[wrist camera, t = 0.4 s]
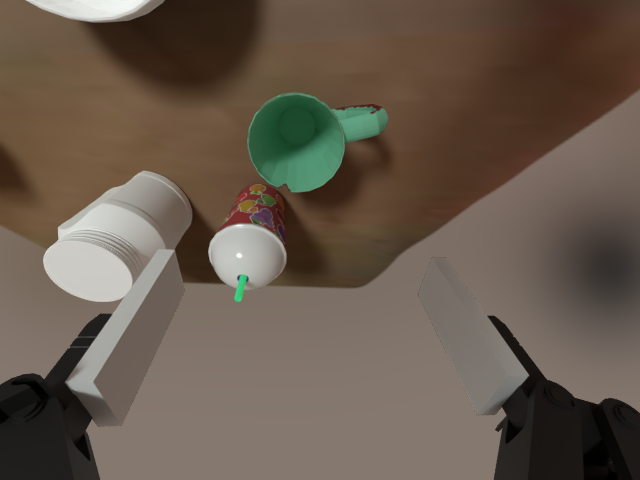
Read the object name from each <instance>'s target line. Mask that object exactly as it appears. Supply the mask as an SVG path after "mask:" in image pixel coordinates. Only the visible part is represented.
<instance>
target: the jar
mask: <svg viewBox="0 0 640 480" xmlns="http://www.w3.org/2000/svg"><path fill="white" fill-rule="evenodd" d="M191 222H192V208H191V205H190V202H189V200H188V198H187V197H186V195H185V194H184V192H183V191H182V190H181V189H180V188H179V187H178V186H177V185H176V184H175V183H173V182H172V181H170V180H169V179H167V178H165V177H163V176H161V175H159V174H156V173H153V172H149V171H142V172H140V173H138V174H137V175H136V176H134V177H133V179H131V180H130V181H129V182H127V183H126V184H125V185H122V186H119V187H114V188H112V189H110V190H108V191H107V192H105V193H104V194H103V195H102V196H101V197H100V198H98V199H97V200H95V201H94V202H93V203H91V204H90V205H89V206H87V207H86V208H85V209H83V210H82V211H81V212H79V213H78V214H76V215H75V216H74V217H72V218H71V219H70V220H68V221H66V222H64V223H63V224H62V225H60V226H59V227H58V238H59V240H58V241H57V242H56V243H55V244H53V245H52V246H51V247H50V248H49V249H48V250H47V251H46V253H45V255H44V259H43V263H44V268H45V270H46V272H47V274H48V275H49V277H50V278H51V279H52V280H53V281H54V282H55V283H56V284H57V285H58V286H59V287H60V288H62V289H64V290H65V291H67V292H68V293H70V294H72V295H75V296H77V297H80V298H83V299H87V300H90V301H97V302H110V301H115V300H119V299H121V298H123V297H125V296H126V295H127V293H128V292H129V290H130V289H131V287H132V286H133V285H134V283H135V282H136V280H137V279H138V278H139V276H140V275H141V273H142V272H143V270H144V269H145V268H146V266H147V265H148V263H149V262H150V260H151V259H152V258H153V256H154V255H155V253H156V252H157V250H158V249H165V250H174V249H175V247H176V246H177V244H178V243H179V241H180V239H181V238H182V236H183V235H184V233H185V231H186V230H187V229H188V228H189V226H190V225H191Z"/></svg>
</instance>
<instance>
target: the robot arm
mask: <svg viewBox="0 0 640 480" xmlns="http://www.w3.org/2000/svg"><path fill="white" fill-rule="evenodd" d="M184 292H185V289H184V285H183V281H182V277H181V273H180V269H179V265H178V261H177V257H176V253H175V250H165V249H158V250H157V252H156V253H155V255H154V256H153V258H152V259H151V260H150V262H149V263H148V265H147V266H146V268H145V269H144V270H143V272H142V273H141V275H140V276H139V278H138V279H137V280H136V282H135V283H134V285H133V286H132V287H131V289H130V290H129V292H128V293H127V295H126V296H125V297H124V299H123V300H122V302H121V303H120V305H119V306H118V307H117V309H116V310H115V312H114V313H113V314H99V315H98V316H97V317H96V318H94V319H93V320H92V321H90V322H89V323H88V324H87V325H86V326H85V327H84V328H83V330H82V331H81V332H80V334H79V335H78V338H76V339H75V340H74V341H73V343H72V344H71V345H70V348H69V349H67V351H66V352H65V353H64V354H63V356H62V357H61V358H60V360H59V361H58V362H57V364H56V365H55V366H54V367H53V369H52V370H51V371H50V373H49V374H48V375H47V377H46V378H45V379H43V378H42V377H41V376H40V375H37V374H34V373H32V374H23V375H20V376H17V377H14V378H11V379H10V380H8V381H6V382H4V383H2V384H1V385H0V480H100V477H99V474H98V470H97V466H96V462H95V459H94V455H93V451H92V447H91V444H90V440H89V436H88V434H87V432H86V431H85V430H86V429H87V427H88V425H89V423H90V421H91V420H92V419H93V421H94V422H95V423H96V425H97V426H98V427H104V426H122V424H123V422H124V420H125V418H126V416H127V413H128V411H129V409H130V407H131V405H132V403H133V401H134V399H135V396H136V394H137V392H138V390H139V388H140V386H141V384H142V382H143V379H144V377H145V375H146V373H147V371H148V369H149V367H150V365H151V362H152V360H153V358H154V356H155V354H156V352H157V350H158V347H159V345H160V343H161V341H162V339H163V337H164V335H165V332H166V330H167V328H168V326H169V324H170V322H171V320H172V318H173V316H174V313H175V311H176V309H177V307H178V305H179V303H180V301H181V299H182V296H183V294H184ZM418 296H419V298H420V300H421V302H422V304H423V306H424V308H425V310H426V312H427V314H428V316H429V318H430V320H431V323H432V325H433V327H434V329H435V331H436V333H437V335H438V337H439V339H440V341H441V343H442V345H443V347H444V349H445V351H446V353H447V355H448V357H449V359H450V361H451V363H452V365H453V367H454V370H455V371H456V373H457V376H458V378H459V380H460V382H461V384H462V386H463V388H464V390H465V392H466V394H467V396H468V398H469V400H470V402H471V404H472V406H473V408H474V410H475V413H476V415H495V414H496V413H497V412H498V411H499V410H500V409H501V407H502V408H503V409H504V411H505V413H506V415H507V416H506V417H505V418H504V419H503V420H502V421H501V422H500V423H499V425H498V426H497V428H496V429H495V430H496V431H498V432H499V431H500V430H501V429H502V434H501V440H500V446H499V452H498V457H497V463H496V469H495V475H494V480H640V413H639V412H638V411H637V410H635V409H634V408H632V407H631V406H629V405H628V404H626V403H624V402H622V401H620V400H617V399H613V398H608V399H604V400H603V401H602V402H600V404H595V403H591V402H588V401H584V400H581V399H577V398H574V397H573V395H572V394H571V393H569V392H568V391H567V390H566V389H565V388H563V387H562V386H560V385H559V384H557V383H555V382H552V381H550V380H547V379H546V378H545V377H544V375H543V374H542V373H541V371H540V370H539V369H538V367H537V366H536V365H535V363H534V362H533V361H532V360H531V358H530V357H529V356H528V354H527V353H526V352H525V350H524V349H523V348H522V346H520V345H519V342H518V341H517V340H516V338H515V337H513V334H512V333H511V332H510V330H509V329H508V328H507V326H506V325H505V324H504V323H503V322H501V321H500V320H499V319H498V318H497V317H495V316H487V315H486V314H485V312H484V311H483V310H482V308H481V307H480V305H479V304H478V303H477V301H476V300H475V298H474V297H473V295H472V294H471V293H470V291H469V290H468V288H467V287H466V286H465V284H464V283H463V281H462V280H461V279H460V277H459V276H458V274H457V273H456V271H455V270H454V269H453V267H452V266H451V264H450V263H449V262H448V260H447V259H446V258H445V257H432V258H431V261H430V263H429V266H428V269H427V271H426V274H425V277H424V279H423V282H422V285H421V287H420V290H419V293H418Z"/></svg>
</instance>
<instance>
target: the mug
mask: <svg viewBox="0 0 640 480" xmlns="http://www.w3.org/2000/svg"><path fill="white" fill-rule="evenodd" d="M387 123H388V117H387V114H386V111H385V110H384V109H383V108H382V107H380V106H377V105H374V104H369V105H358V106H348V107H342V108H337V109H332V110H331V108H330V107H329V106H328V105H327V104H325V103H324V102H322V101H321V100H319V99H318V98H316V97H314V96H311V95H307V94H303V93H299V92H295V93H287V94H281V95H279V96H277V97H275V98H273V99H271V100H269V101H267V102H266V103H265V104H264V105H263V106H262V107H261V108H260V109H259V110H258V111H257V113H256V114H255V115H254V118H253V120H252V122H251V125H250V127H249V129H248V141H247V147H248V151H249V156H250V160H251V162H252V164H253V165H254V167H255V169H256V171H257V172H258V174H259V175H260V176H261V177H262V178H263V179H265V180H266V181H267V182H268V183H269V184H271V185H273V186H275V187H277V188H279V187H281V186H282V185H285V184H286V185H287V188H288V190H289V191H290V192H294V193H299V192H307V191H312V190H314V189H316V188H319V187H321V186H323V185H324V184H325V183H326V182H328V181H329V180H330V179H331V178H332V177H333V176H334V175H335V173H336V172H337V170H338V169H339V167H340V165H341V163H342V159H343V156H344V152H345V143H348V142H352V141H357V140H361V139H366V138H369V137H373V136H376V135H379V134H380V133H381V132H383V131H384V129H385V128H386V126H387Z"/></svg>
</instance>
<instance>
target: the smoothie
mask: <svg viewBox="0 0 640 480" xmlns="http://www.w3.org/2000/svg"><path fill="white" fill-rule="evenodd" d="M208 254H209V259H210V262H211V264H212V266H213V267H214V270H215V272H216V273H217V275H218V277H219V278H220V279H221V280H222V281H223V282H224V283H225V284H227V285H228V286H230V287H232V288H234V289H237V290H236V294H235V298H234V299H235V301H237V302H239V301H241V300H242V296H243V292H244V291H251V290H256V289H260V288H262V287H264V286H265V285H267V284H269V283H270V282H271V281H272V280H274V279H275V278H277V277H278V276H279V274H280V273H281V272H282V271H283V269H284V267H285V265H286V262H287V253H286V246H285V221H284V202H283V200H282V197H281V196H280V194H279V193H278V192H277V191H276V190H275V189H273V188H271V187H270V186H266V185H263V184H254V185H251V186H247V187H246V188H245V189H243V190H242V191H241V192H240V194H239V195H238V197H237V199H236V201H235V202H234V204H233V206H232V207H231V209H230V211H229V212H228V214H227V216H226V218H225V219H224V221H223V223H222V224H221V226H220V228H219V230H218V231H217V233H216V235H215V236H214V238H213V239H212V240H211V242H210V246H209V250H208Z"/></svg>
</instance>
